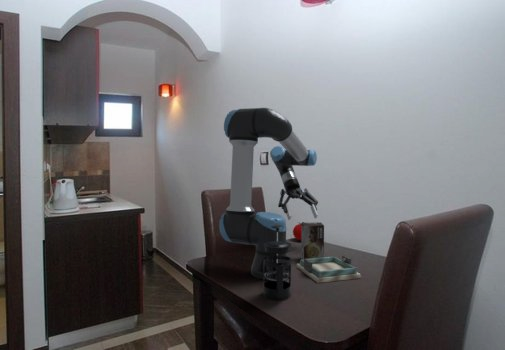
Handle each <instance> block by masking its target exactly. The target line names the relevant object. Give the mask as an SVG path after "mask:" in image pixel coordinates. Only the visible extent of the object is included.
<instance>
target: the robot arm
mask: <svg viewBox="0 0 505 350" xmlns="http://www.w3.org/2000/svg"><path fill="white" fill-rule="evenodd" d="M223 131H224V134H225V136H226V138H228V139H229V141H228V142H229V143H230V144H231V146H232V156H231V176H230V201H229V205H228V207H227V208H226V209H225V212H224V213H223V214H222V215H221V216H220V219H219V232H220V235H221V237H222V239H224V240H225V241H226V242H229V243H233V244H242V245H250V246H255V255H254V258H253V261H252V264H251V266H250V275H251V276H253V277H254V278H256V279H259V280H263V281H264V257H266V256H270V255H277V254H271V253H267V252H266V251H265V246H264V243H266V242H269V241H277V232H276V228H272V227H271V226H274V225H281V226H283V227H284V228H280V229H279V232H278V241H283V242H287V222H286V218H287V220H288V221H291V218H292V213H291V210H290V208H289V205H288V203H289V202H290V199H293V200H294V199H299V200H302V201H303V202H305V203H306V204H308V205H309V206H310V210H311V213H312V215H313V217H314V219H317V218H318V216H319V214H318V208H317V206H318V204H319V201H318V200H317V199H316V198H315V197H314V196H313V195H312V194H311V193H310V192H309V191H308V189H307V187H306V188H304V189H302V188H301V184H300V182H299V180H298V178H297V177H298V176H297V175H296V172H295V170H294V167H293V166H300V167H301V166H302V167H309V166H310V167H312V166H315V165H316V163H317V159H318V157H317V151H316V150H312V149H307V147H306V145H304V143H303V142H302V141H301V139H300V138H299V136H297V134H296V133H295V131H294V130H293V125H292V124H291V122H290V121H289V119H288V118H287V117H286V116H284V115H283V114H282V113H280V112H278V111H276V110H274V109H272V108H268V107H256V108H254V107H253V108H238V109H231V111H228V113H227V115H226V116H225V118H224V123H223ZM260 138H261V139H262V138H269V139H272V140H273V141H275V142H278V143H279V144H280V145H276V146H273V148H271V150H270V153H269V155H270V158H271V160H272V162H273V163H274V165H275V166H276V167H275V168H277V171H278V172H279V176H280V179H281V181H282V184H283V188H282V189H281V190H280V193H279V194H280V196H279V200H278V201H279V202H278V206H277V207H278V208H281V210H283V212H284V214H286V218H285V217H284V216H283V215H281V214H279V213H275V212H271V211H268V212H267V211H258V212H257V213H256V212H255V208H254V207H253V206H252V195H253V177H254V175H253V174H254V153H255V152H254V151H255V149H254V147H255V146H256V145H257V144H258V141H259V139H260ZM285 194H286V195H287V198H286V199H285V200H284V197H285ZM283 201H284V203H283ZM255 213H256V214H255ZM278 255H283V256H287V253H285V254H278ZM266 261H268V262H272V263H273V259H270V260H266ZM284 262H288V261H287V260H283V259H278V263H284ZM272 269H273V267H271V266H267V265H265V274H266V273H268V272H272ZM283 272H285V273H288V274H289V266H285V267H283ZM265 281H268V280H267V279H266V278H265Z"/></svg>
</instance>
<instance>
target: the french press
mask: <svg viewBox="0 0 505 350" xmlns="http://www.w3.org/2000/svg"><path fill="white" fill-rule="evenodd" d="M271 227H272V228H276V232H277V241H269V242H266V243H264V246H265V251H266V252H267V253H271V254H277V255H270V256H266V257H264V280H263V289H262V290H263V291H262V296H263V295H264V296H263V297H264V298H265V299H267V300H271V299H273V300H272V301H285V300H288V299H290V298H291V296H292V292H291V289H292V288H291V285H292V284H291V277H292V259H291V257H289V256H287V255H286V256H283V255H278V254H285V253H286V254H288V253H290V250H291V249H290V248H291V247H292V244H291V243H290V242H287V241H286V242H283V241H278V232H279V229H280V228H284V227H283V226H281V225H274V226H271ZM270 259H273V263H272V262H268V261H266V260H270ZM278 259H283V260H287V261H288V262H284V263H278ZM265 265H267V266H271V267H273V269H272V272H268V273H266V274H265ZM285 266H289V274H288V273H285V272H283V267H285ZM265 278H266V279H267V280H265Z"/></svg>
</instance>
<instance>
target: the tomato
mask: <svg viewBox="0 0 505 350" xmlns="http://www.w3.org/2000/svg"><path fill="white" fill-rule="evenodd" d="M301 223H305V222H304V221H302V222H297V224H295V226H294V227H293V229H292V234H293V237H294V238H295V239H296V240H297V241H300V242H301Z"/></svg>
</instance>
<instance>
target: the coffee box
mask: <svg viewBox="0 0 505 350" xmlns="http://www.w3.org/2000/svg"><path fill="white" fill-rule="evenodd" d="M300 223H301V241H300V243H301V244H300V245H301V247H300V248H301V253H300V254H301V255H300V257H301V258H300V259H301V260H302V259H313V258H324V257H325V224H324V223H322V222H304V223H302V222H300Z"/></svg>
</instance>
